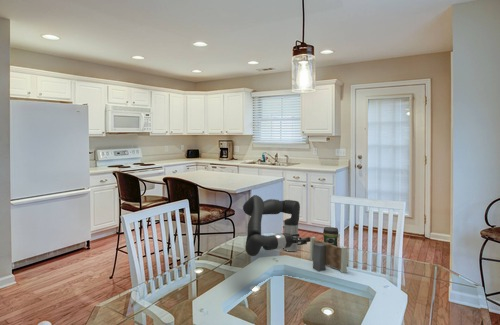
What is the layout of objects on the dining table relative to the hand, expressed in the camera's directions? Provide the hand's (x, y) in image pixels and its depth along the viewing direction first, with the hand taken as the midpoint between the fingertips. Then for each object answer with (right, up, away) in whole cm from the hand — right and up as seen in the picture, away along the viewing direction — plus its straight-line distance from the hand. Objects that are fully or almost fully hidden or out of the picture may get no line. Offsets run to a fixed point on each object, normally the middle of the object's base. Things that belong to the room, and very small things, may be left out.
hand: (304, 237), depth 179 cm
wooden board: (+16, -19, +13) cm, 28 cm away
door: (+16, -19, +13) cm, 28 cm away
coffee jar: (+21, -19, +31) cm, 43 cm away
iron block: (+10, -19, +8) cm, 23 cm away
